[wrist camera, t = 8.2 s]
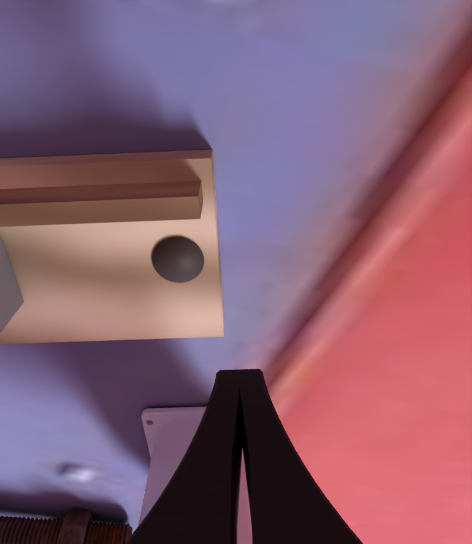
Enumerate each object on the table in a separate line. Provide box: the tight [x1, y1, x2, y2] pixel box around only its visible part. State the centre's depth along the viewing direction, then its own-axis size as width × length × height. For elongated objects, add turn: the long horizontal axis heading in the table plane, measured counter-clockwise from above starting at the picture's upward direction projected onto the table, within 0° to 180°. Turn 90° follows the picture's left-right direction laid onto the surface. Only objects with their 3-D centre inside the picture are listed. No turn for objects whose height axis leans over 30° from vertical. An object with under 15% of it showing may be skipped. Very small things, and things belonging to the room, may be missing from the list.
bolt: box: [0, 508, 132, 544], centre depth 33 cm, size 6×5×15 cm
